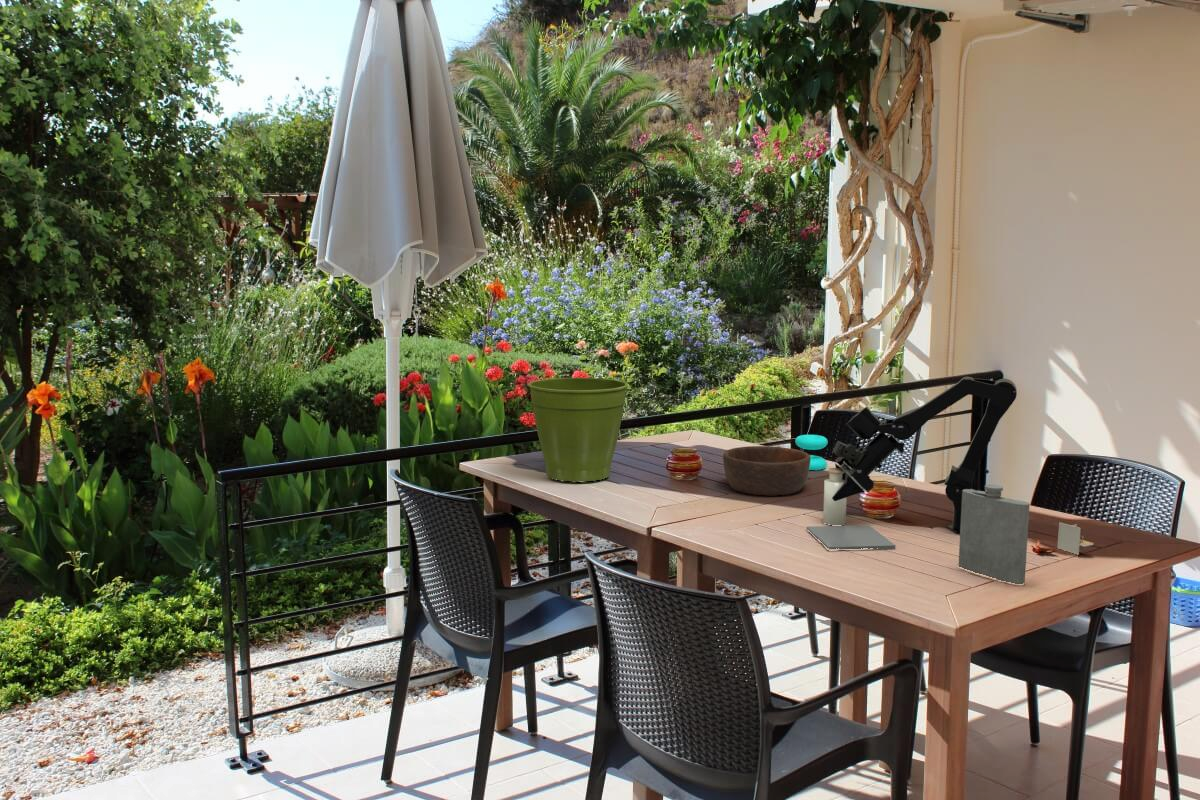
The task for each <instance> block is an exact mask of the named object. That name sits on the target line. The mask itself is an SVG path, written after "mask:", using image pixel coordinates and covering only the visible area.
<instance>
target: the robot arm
mask: <svg viewBox="0 0 1200 800" xmlns="http://www.w3.org/2000/svg"><path fill="white" fill-rule="evenodd" d="M1017 394H1018V393H1017V386H1016V384H1015V383H1014V382H1013V381H1012V380H1011V379H1008V378H1001V379H1000V378H999V379H998V380H992V379H984V378H975V377H972V376H964V377H962V378H961V379H960V380H959V381H958V382H957V383H955V384H953V385H952V386H950V387H948V388H946V390H944V391H942V392H941V393H939V394H938V395H936V396H935V397H933V398H932V399H930V400H929V401H927V402H925V403H924V404H923V405H921V406H919V407H916V408H913V409H910V410H908V411H905V412H903V413H901V414H899V415H896V416H895V418H891V419H890V418H889V419H883V420H880V419H879V418H878V417H877V416H876V415H875V414H874V413H873V412H872V411H871V409H870V408H869V407H868V406H865V407H864V408H863V409H862V410H861V411H859V412H858V413H856V414H855V415H854V416H853V417H851V419H850V420H849V421H848V422H847V423H846V424H845V425H847V427H848V428H849V429H850V430H851V431H852V432H853V433H854V434H856V436H857V437H858V438H859V439H860V440H864V441H865V440H867V441H869V440H870V439H872V437H874V436H875V435H876V436H875V437H874V438H873V439H872V440H871V441H870V442H868V444H866V445H865V446H859V447H858V448H856V446H855V445H852V444H851V443H847V444H846V443H844V442H841V441H839V440H837V442H836V443H835V445H834V447H833V449H832V453H834V455H835V456H837V458H836V459H835V460H834V461H835V462H836V463H834V464H835V468H842V469H844V473H843V474H842V479H843V480H845V482H844V483H843V484H842V486H841V487H840V488H839V489H838V491H837V492H836V493H835V494H834V496H833V497H832V499H833V500H834V501H837V500H840V499H843V498H846V499H847V498H849V497H851V496H855V495H857V494H861V493H865V491H866V492H867V493H869V492H871V491H872V489H874V486H875V485H874V484H875V482H874V481H873V480H872V479H871V476H870V475H871V474H872V473H873V472H874V471H875V469H877V468H878V469H880V468H882V466H883V465H882V464H883V462H884V461H885V460H887V459H888V458H889V457H890V455H892V454H893V453H894V452H895V451H898V452H899V454H904V452H905V449H904V448H905V444H906V443H904V442H899V441H906V440H909V439H910V438H912V436H914V435H915V434H916V433H917V432H918V431H919V430H920V429H921V428H922V427H924V425H925V424H926V423H927V422H928V421H929V420H931V419H933V418H935V417H936V416H937V415H939V414H940V413H941V412H944V411H945V410H946V409H948V408H949V407H951V406H953V405H954V404H956V403H957V402H959V401H961V400H962V399H963V398H965V397H967V396H969V395H970V396H974V397H979V398H982V399H986V400H988V401H987V406H986V409H985V413H984V414H983V417H982V419H981V421H980V423H979V426H978V428H977V430H976V432H975V434H974V436H973V438H972V440H971V442H970V445H969V447H968V449H967V451H966V453H965V455H964V457H963V460H962V461H961V463H960V464H959V465H958V466H957V467H956V466H955V465H953V464H952V465H951V469H950V471H949V474H948V476H946V478H945V481H944V484H943V485H944V486H945V490H944V491H945V495H946V497H947V498H948V499H949V500H950V501H951V502H952V503H953V510H952V511H953V513H952V524H950V525H949V524H948V525H947V527H946V528H947V529H948V530H950V531H952V532H954V533H955V534H957V535H960V526H961V507H962V490H964V489H972V490H974V489H973V488H972V487H973V482H974V479H975V476H976V472H977V468H978V466H979V464H980V462H981V460H982V458H983V456H984V455H985V452H986V450H987V447H988V446H989V443H990V441H991V439H992V437H993V435H994V432H995V430H996V429H997V426H998V424H999V422H1000V420H1001V419H1002V418H1003V416H1004V415H1005V414H1006V413H1007V412H1008V411H1009V409H1010V407H1011V406H1012V405H1013V403H1014V402H1015V400H1016V398H1017ZM878 432H879V433H878ZM876 433H877V434H876ZM887 434H888V435H889V436H888V435H887ZM898 440H899V441H898ZM863 489H864V490H863Z"/></svg>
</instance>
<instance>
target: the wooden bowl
mask: <svg viewBox="0 0 1200 800" xmlns="http://www.w3.org/2000/svg"><path fill="white" fill-rule="evenodd" d="M810 455H811V454H809V453H808V452H806V451H803V450H800V449H795V448H789V447H782V446H770V445H767V446H766V445H764V446H763V445H759V446H758V445H752V446H741V447H740V446H739V447H734V448H730V449H727V450H725V451H724V452H723V454H722V463H723V469H724V475H725V478H726V481H727V482H728V484H729V486H730V487H731V489H733V490H734V491H735V492H738V491H739V492H738V493H741V492H743V493H742V494H745V493H747V495H751V494H753V496H759V495H766V496H765V497H777V495H782V496H789V494H790V495H794V494H796V492H797V493H798V492H800V491H801V490H802V489H803V487H804V485H805V484H806V481H807V478H808V474H809V472H810V470H809V467H810V460H811V458H810Z"/></svg>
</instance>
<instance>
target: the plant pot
mask: <svg viewBox="0 0 1200 800" xmlns="http://www.w3.org/2000/svg"><path fill="white" fill-rule="evenodd" d="M628 386H629V384H628V382H625V381H622V380H618V379H610V378H599V377H558V378H547V379H546V378H545V379H544V378H543V379H539V380H533V381H530V382H528V387H529V388H530V395H531V396H530V397H531V403H532V409H533V415H534V420H535V421H534V422H535V426H536V431H537V436H538V439H539V440H538V441H539V445H540V449H541V453H542V457H543V460H544V464H545V470H546V471H545V472H546V476H547V478H549V477H550V478H549V479H551V478H553V479H557V480H563V481H574V482H573V483H576V482H579V481H594V482H597V481H596V480H600V481H603V480H606V479H607V478H608V477H609V476H610V474H611V464H612V461H613V458H614V454H615V450H616V448H617V443H618V439H619V434H620V430H621V429H620V428H621V424H622V418H623V412H624V404H625V403H626V393H627V388H628ZM605 478H606V479H605ZM553 479H552V480H553ZM602 479H603V480H602ZM557 480H556V481H557ZM563 481H562V482H563Z"/></svg>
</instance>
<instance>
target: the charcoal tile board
mask: <svg viewBox="0 0 1200 800" xmlns="http://www.w3.org/2000/svg"><path fill="white" fill-rule="evenodd" d="M807 530H809V531H810V532H811V533H812V534H813V535H814V536H815V537H816V538H817V539H819V540H820V541H821V542H822V543H823V544H824V545H825V546H826V547H827V548H829V549H836V548H837V549H838V548H839V549H861V548H862V549H863V548H868V549H870V548H873V549H877V548H878V549H895V550H896V547H897V546H896V544H894V543H893V542H892V541H891V540H889V539H888V538H887V537H886V536H884V535H883V534H882V533H880V532H879V531H878V530H876V529H875V528H874V527H872V526H871V525H870V524H863V525H862V524H859V525H858V524H856V525H855V524H854V525H853V524H851V525H843V526H829V525H821V526H820V525H818V526H817V525H815V526H814V525H813V526H812V525H811V526H806V531H807Z"/></svg>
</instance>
